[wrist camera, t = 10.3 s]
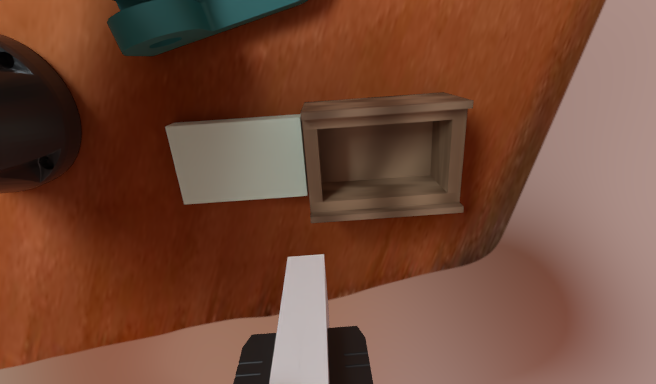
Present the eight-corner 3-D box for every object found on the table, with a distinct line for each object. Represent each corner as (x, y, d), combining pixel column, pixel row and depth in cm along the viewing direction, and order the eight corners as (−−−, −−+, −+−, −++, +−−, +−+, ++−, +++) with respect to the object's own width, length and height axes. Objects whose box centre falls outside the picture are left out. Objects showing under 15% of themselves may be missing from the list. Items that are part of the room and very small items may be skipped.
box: (312, 194, 37) (311, 223, 31) (304, 102, 34) (300, 112, 27) (438, 185, 37) (463, 212, 31) (443, 92, 33) (473, 100, 27)
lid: (192, 195, 38) (184, 204, 35) (175, 122, 34) (164, 126, 32) (308, 187, 38) (307, 195, 35) (301, 113, 34) (299, 117, 32)
